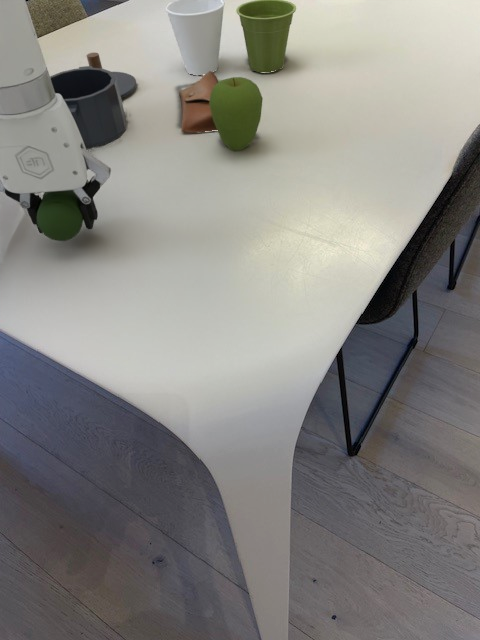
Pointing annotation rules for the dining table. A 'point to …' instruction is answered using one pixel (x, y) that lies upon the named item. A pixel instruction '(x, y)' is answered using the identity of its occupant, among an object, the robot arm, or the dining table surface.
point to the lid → (123, 79)
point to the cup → (197, 32)
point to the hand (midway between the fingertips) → (67, 223)
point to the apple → (236, 111)
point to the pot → (92, 103)
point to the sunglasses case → (198, 105)
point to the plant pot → (266, 32)
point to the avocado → (59, 215)
